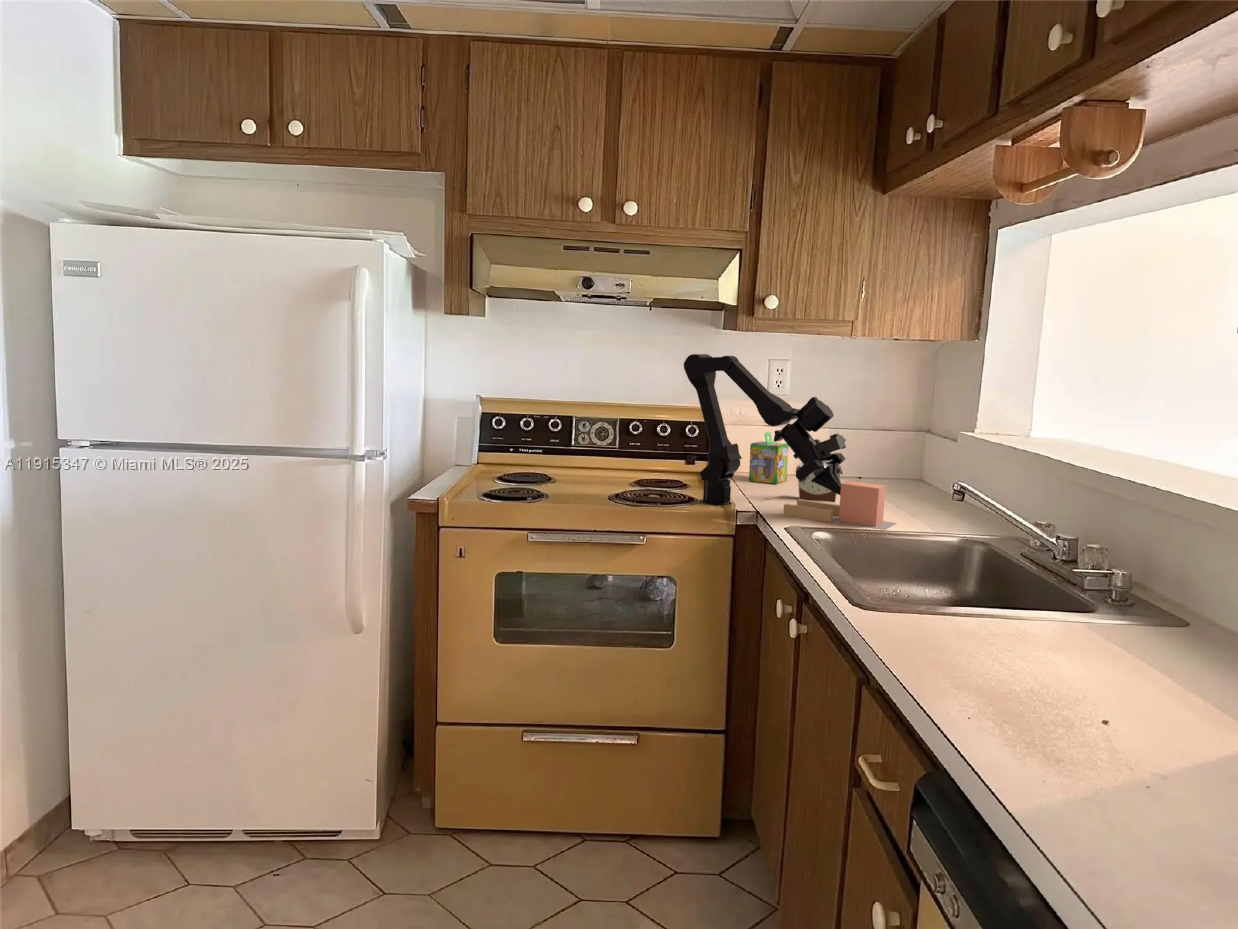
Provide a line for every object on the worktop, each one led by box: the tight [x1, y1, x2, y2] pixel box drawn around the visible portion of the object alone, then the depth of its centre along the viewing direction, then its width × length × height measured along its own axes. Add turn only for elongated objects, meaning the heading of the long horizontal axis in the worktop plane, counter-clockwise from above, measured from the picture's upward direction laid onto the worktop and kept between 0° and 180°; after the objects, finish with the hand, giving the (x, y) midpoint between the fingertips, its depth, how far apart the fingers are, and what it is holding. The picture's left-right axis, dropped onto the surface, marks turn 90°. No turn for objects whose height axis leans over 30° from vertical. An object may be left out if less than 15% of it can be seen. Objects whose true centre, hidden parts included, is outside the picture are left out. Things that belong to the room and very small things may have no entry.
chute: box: [780, 498, 898, 531], centre depth 217 cm, size 26×10×3 cm, turn 56°
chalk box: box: [748, 431, 789, 485], centre depth 271 cm, size 9×9×15 cm
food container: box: [795, 462, 843, 503], centre depth 242 cm, size 12×6×10 cm, turn 84°
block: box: [839, 480, 886, 526], centre depth 213 cm, size 9×5×9 cm, turn 56°
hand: (843, 494), depth 216 cm, fingers closed, pressing on block
